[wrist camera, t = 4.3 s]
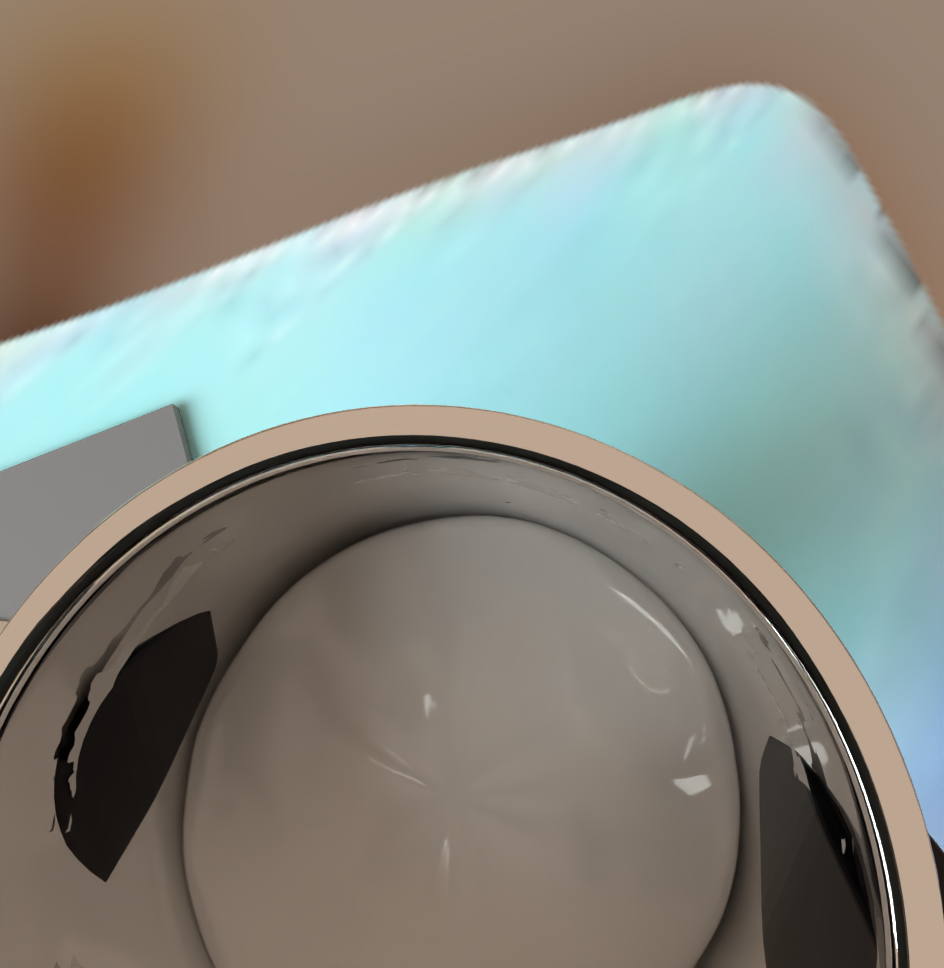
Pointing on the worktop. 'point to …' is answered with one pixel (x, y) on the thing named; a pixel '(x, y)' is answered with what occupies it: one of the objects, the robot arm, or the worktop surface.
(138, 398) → the worktop surface
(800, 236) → the worktop surface
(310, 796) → the beer glass
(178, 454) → the slate mat
